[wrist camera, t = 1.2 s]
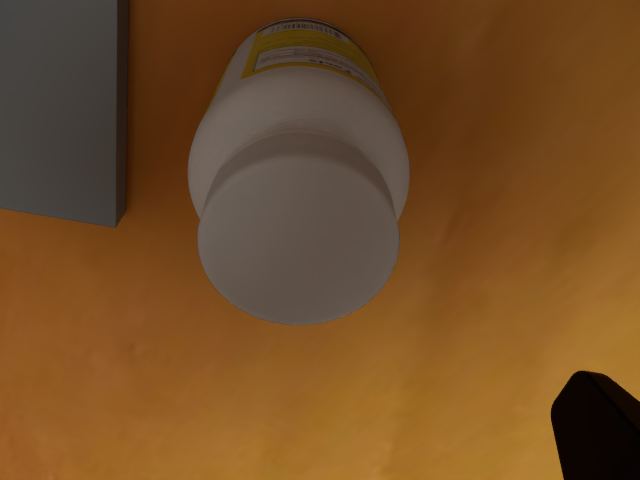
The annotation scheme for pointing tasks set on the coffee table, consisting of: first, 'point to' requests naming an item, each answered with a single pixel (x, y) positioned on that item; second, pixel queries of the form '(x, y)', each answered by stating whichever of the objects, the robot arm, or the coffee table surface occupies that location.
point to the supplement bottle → (298, 176)
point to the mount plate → (64, 108)
